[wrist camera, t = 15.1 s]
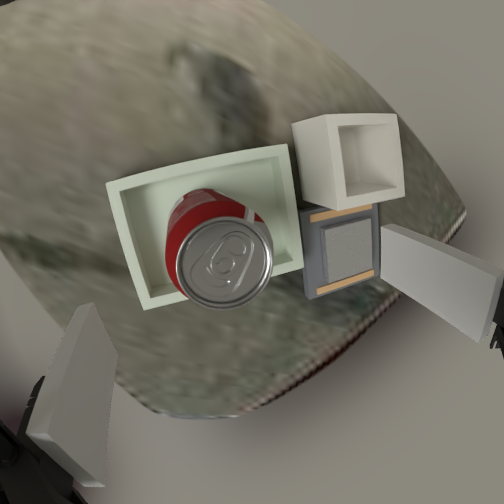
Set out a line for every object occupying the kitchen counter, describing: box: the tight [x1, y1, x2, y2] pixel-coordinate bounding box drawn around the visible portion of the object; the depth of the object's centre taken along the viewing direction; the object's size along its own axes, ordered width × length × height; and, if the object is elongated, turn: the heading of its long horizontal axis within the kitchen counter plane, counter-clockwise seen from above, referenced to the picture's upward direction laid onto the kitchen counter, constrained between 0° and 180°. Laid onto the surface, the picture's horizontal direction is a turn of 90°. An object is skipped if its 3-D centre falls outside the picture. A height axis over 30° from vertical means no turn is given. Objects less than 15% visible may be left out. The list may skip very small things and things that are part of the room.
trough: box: [106, 144, 304, 310], centre depth 26 cm, size 12×16×3 cm
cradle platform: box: [320, 217, 372, 283], centre depth 31 cm, size 6×6×1 cm
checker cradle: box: [297, 203, 379, 300], centre depth 32 cm, size 10×10×1 cm
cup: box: [291, 113, 405, 211], centre depth 26 cm, size 8×8×7 cm
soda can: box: [165, 188, 274, 311], centre depth 21 cm, size 7×7×12 cm
